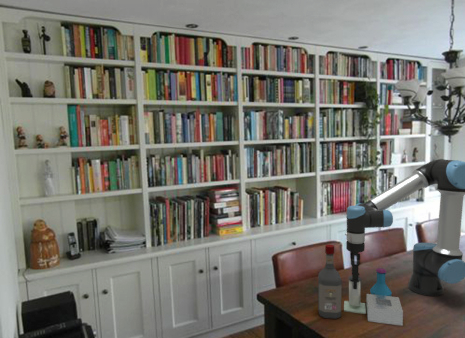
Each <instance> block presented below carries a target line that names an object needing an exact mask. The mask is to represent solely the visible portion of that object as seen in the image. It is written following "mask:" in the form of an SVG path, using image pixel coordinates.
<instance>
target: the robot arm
mask: <svg viewBox="0 0 465 338" xmlns="http://www.w3.org/2000/svg"><path fill="white" fill-rule="evenodd" d="M432 185H437V189H436V190H437V191H438V192H439V193H440V198H439V199H440V200H439V212H438V222H437V223H438V225H437V237H436V243H433V242H417V243H415V244H413V249H412V273H411V276H410V278H409V280H408V283H407V284H408V285H407V286H408V289H409V290H411V291H412V292H413V293H416V294H419V295H423V296H427V297H428V296H429V297H437V296H441V295H443V294H444V286H443V283H442V282H446V283H447V284H457V283H460V282H462V280H464V279H465V261H464V260H463V257H464V256H463V252H462V251H461V250H460V242H461V241H460V240H461V231H462V230H461V228H462V217H463V207H464V206H463V205H464V196H465V161H462V160H458V159H457V160H454V159H453V160H452V159H443V158H441V159H434V160H431V161H429V162H427V163H425V164H423V165H421V166H419V167H418V168H416V169H414V170H413V171H412V174H410V175H408V176H407V177H406V178H404V179H402V180H401V181H399V182H397V183H395V184H394V185H392V186H391V187H389V188H387V189H385V190H384V191H382V192H381V193H379V194H377V195H375V196H374V197H372V198H370V199H369V200H367V201H365V202H364V203H363V202H359V203H356V204H355V205H350V206H348V207H347V209H346V215H345V216H346V232H345V233H344V235H345V236H346V245H345V248H346V250H347V251H349V252H350V264H351V276H352V280H350V281H352V296H358V281H359V280H358V276H360V273H359V270H360V269H359V267H360V260H361V253H363V252H365V250H366V249H365V244H366V243H365V240H366V233H365V232H366V231H365V230H366V229H372V228H373V229H375V228H376V229H377V228H389V227H391V226H392V225H393V222H394V216H393V213H392V212H391V210H389V209H388V208H390V207H392V206H393V205H395V204H397V203H399V202H401V201H402V200H404V199H405V198H407V197H409V196H411V195H412V194H414V193H415V192H417V191H419V190H420V189H421V190H422V188H424V189H426V188H428V187H430V186H432Z"/></svg>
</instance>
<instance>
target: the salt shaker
mask: <svg viewBox="0 0 465 338" xmlns="http://www.w3.org/2000/svg"><path fill="white" fill-rule="evenodd" d="M361 279H362V278H361V276H360V275H358V280H359V281H358V296H352V281H350V280H352V275H349V276H348V301H349V304H350V305H351V306H360V303H361V282H362V281H361Z"/></svg>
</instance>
